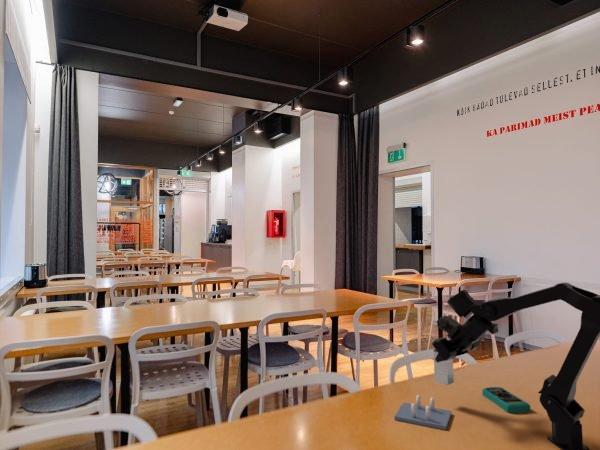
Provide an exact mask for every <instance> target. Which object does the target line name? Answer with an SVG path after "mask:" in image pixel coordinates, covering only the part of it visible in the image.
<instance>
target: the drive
mask: <svg viewBox="0 0 600 450" xmlns="http://www.w3.org/2000/svg"><path fill="white" fill-rule="evenodd" d="M437 354H438V351H437V350H436V349H435V348H434V349H433V365H434V367H433V368H434V369H433V370H434V382H435V383H438V384H439V383H440V384H442V385H444V386H445V385H446V386H449V385H452V384H454V383H455V382H454V381H455V379H454V358H453V359H450V360H447V361H446V360H445V361H441V362H436V361H435V358H436V356H437Z"/></svg>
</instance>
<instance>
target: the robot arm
mask: <svg viewBox="0 0 600 450" xmlns="http://www.w3.org/2000/svg"><path fill="white" fill-rule="evenodd" d="M559 300H561V301H563V302H564V303H567V304H568V305H569V306H571V307H572V308H574V309H577V310H578V311H581V314H580V315H581V316H580V325H579V330H578V332H577V334H576V336H575V339H574V340H573V342H572V343H571V346H570V348H569V350H568V352H567V355H566V356H565V359H564V361H563V363H562V364H561V368H560V369H559V371H558V373H557V375H555V374H551V375H550V376H548V377H546V378H545V379H544V381H543V382H542V383H543V384H542V388H541V389H540V390H539V391H538V392H537V393H538V394H540V396H539V402H540V404H541V406H542V407H543V409H544V410H545V411H546V414H547V417H548V419H549V421H550V422H551V434H552V435H549V436H546V439H547V440H548V441H550V442H551V443H552V444H554V445H556V447H558V448H559V449H561V450H590V447H589V446H587V445H585V444H584V442H583V424H582V423H581V418H583V416H584V413H585V412H586V411H585V409H584V407H583V406H582V405H580V403H579V402H578V401H577V400H576V399H575V396H576V393H577V392H576V391H577V382H578V380H579V377H580V375H581V374H582V371H583V370H584V368H585V366H586V364H587V362H588V360H589V358H590V357H591V354H592V352H593V350H594V348H595V347H596V344H597V342H598V340H599V339H600V295H599V294H597V293H595V292H593V291H589V290H587V289H583V288H580V287H578V286H575V285H573V284H571V283H569V282H560V283H556V284H555V285H553V286H549V287H546V288H542V289H539V290H534V291H531V292H527V293H525V294H521V295H517V296H513V297H512V296H511V297H509V296H508V297H500V298H493V299H490V300H485V301H482V302H477V301H476V300H475V299H473V297H472V296H471V295H470V294H469V292H468V291H467V290H466V289H462V290H460V291H459V292H457V293H456V294H454V295H453V296H451V297H449V299H448V300H447V302H446V303H447V304H448V306H449V307H450V308H451V309H452V310H453V311H454V313H455V314H456V315H457V316H458V317H459V318H461V319H462V318H464V319H467V318H468V319H467V320H466V321H464V323H463V324H461V323H460V322H459V321H457V320H455V319H454V318H452V317H450V315H443V316H440V318H439V319H438V320H436V327H437V328H439V329H441V330H442V331H444V332H446V333H447V335H446V336H447V337H448V338H449V340H448V339H447V338H446V337H443V336H442V337H438V338H436V339H435V340H434V341H432V343H431V344H432V346H433V348H434V349H436V350H437V351H438V354H437V356H436V358H435V361H436V362H441V361H445V360H446V361H447V360H450V359H453V360H454V359H455V358H457V357H458V356H459V357H460V356H462V355H465V354H468V353H469V351H468V350H470V351H471V352H472V351H473V352H474V351H475V350H476V349H478V348H479V347H480V342H479V341H481V337H482V336H484V335H485V334H486V333H487V332H489V333H490V334H491V335H494V334H498V333H499V326H498V325H499V324H498V323H494V322H495V321H498V320H501V319H504V318H507V317H509V316H511V315H513V314H515V313H517V312H519V311H522V310H526V309H529V308H534V307H536V306H541V305H544V304H548V303H551V302H556V301H559Z"/></svg>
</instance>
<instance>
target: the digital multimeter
mask: <svg viewBox="0 0 600 450" xmlns="http://www.w3.org/2000/svg"><path fill="white" fill-rule="evenodd" d="M481 392H482V396H483V397H485V398H486V399H488V400H489V401H491V402H492V403H494V404H495V405H497V406H498V407H500V408H501V409H502V410H504V411H505V412H507V413H509V414H518V413H530V412H531V405H530V404H529V403H528V402H527V401H524V399H521V398H520V397H518V396H516V395H515V394H513V393H511V392H509V391H508V390H506V389H505V388H504V387H499V386H498V387H497V386H491V387H485V388H482V391H481Z"/></svg>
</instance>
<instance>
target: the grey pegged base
mask: <svg viewBox="0 0 600 450" xmlns="http://www.w3.org/2000/svg"><path fill="white" fill-rule="evenodd" d="M415 399H416V402H415V403H411V402H410V403H409V402H404V401H403V402H402V404H401V406H400V407H399V408H398V411H397V412H396V414H395V415H394V420H395V421H398V422H404V423H407V424H409V423H410V424H413V425H419V426H423V427H429V428H434V429H437V428H438V429H439V430H442V429H443V431H447V428H448V425H449V423H450V420H451V416H452V410H450V409H449V410H448V409H443V408H437V407H435V405H436V404H435V397H430V398H429V405H422V402H421V401H422V400H421V395H418V394H417V395H416V398H415ZM448 422H449V423H448ZM438 429H437V430H438Z"/></svg>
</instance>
